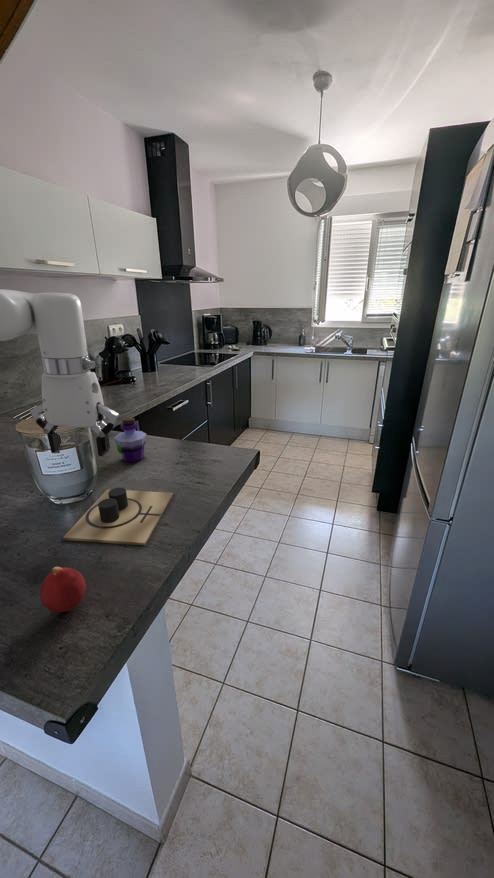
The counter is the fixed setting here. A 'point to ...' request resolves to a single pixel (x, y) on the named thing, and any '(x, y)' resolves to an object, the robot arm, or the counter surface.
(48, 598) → the onion
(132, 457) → the potion bottle
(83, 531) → the board
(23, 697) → the counter surface
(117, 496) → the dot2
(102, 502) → the dot
